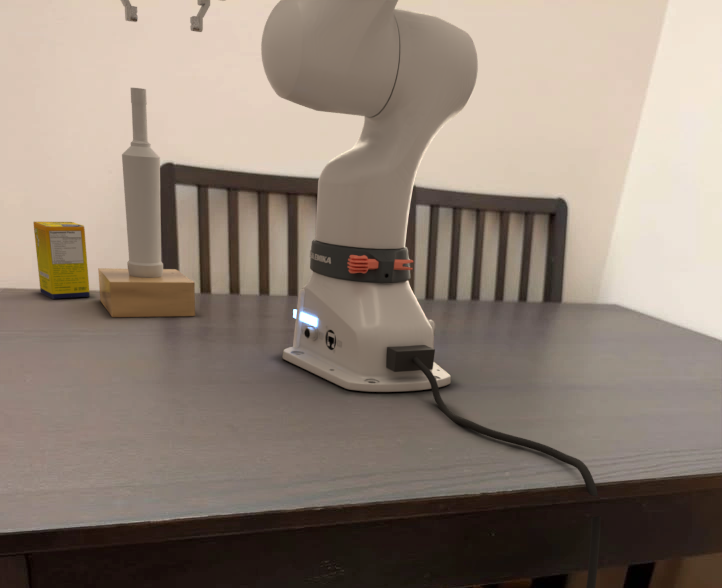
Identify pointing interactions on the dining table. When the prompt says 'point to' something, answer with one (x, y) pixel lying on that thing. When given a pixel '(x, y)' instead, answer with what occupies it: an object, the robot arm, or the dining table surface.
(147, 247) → the bottle
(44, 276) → the supplement box
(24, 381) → the dining table surface
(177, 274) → the block
